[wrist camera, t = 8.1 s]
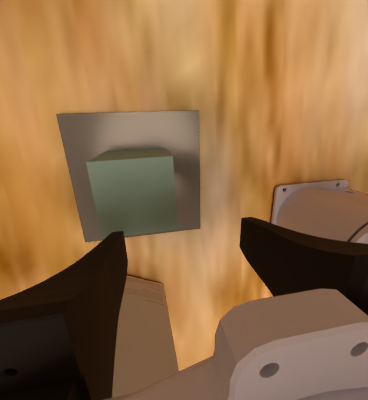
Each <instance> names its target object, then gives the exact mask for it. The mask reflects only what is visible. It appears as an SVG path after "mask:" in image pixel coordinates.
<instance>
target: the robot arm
mask: <svg viewBox="0 0 368 400" xmlns="http://www.w3.org/2000/svg"><path fill="white" fill-rule="evenodd" d="M336 184H337V185H336ZM347 187H348V181H347V180H344V179H342V180H331V181H320V182H309V183H298V184H287V185H278V186H277V187H276V188H275V194H274V202H273V211H272V219H271V223H269V222H266V221H263V220H260V219H257V218H253V217H248V218H242V220H241V234H240V248H241V250H242V252H243V254H244V256H245V258H246V259H247V261H248V262H249V264H250V265H251V266H252V268H253V269H254V270H255V272H256V273H257V274H258V276H259V277H260V278H261V279H262V281H263V282H264V283H265V285H266V286H267V287H268V289H269V290H270V292H271V293H272V295H273V296H274V297H269V298H263V299H257V300H252V301H248V302H245V303H243V304H240V305H237V306H235V307H233V308H232V309H231V310H230V311H229V312H228V313H227V314H226V315H225V316H223V317H222V318H221V320H220V322H219V325H218V328H217V330H216V333H215V350H214V355H213V356H211V357H209V358H207V359H205V360H202V361H200V362H198V363H196V364H194V365H192V366H190V367H188V368H186V369H183V370H181V371H179V372H177V373H175V374H173V375H171V376H169V377H166V378H164V379H162V380H160V381H158V382H156V383H154V384H152V385H149V386H147V387H145V388H143V389H141V390H139V391H137V392H135V393H130V394H126V395H122V396H117V397H113V398H112V389H113V375H114V361H115V350H116V338H117V328H118V319H119V313H120V308H121V303H122V298H123V293H124V288H125V283H126V278H127V266H128V259H127V253H126V246H125V239H124V232H123V231H117V232H112V233H110V234H109V235H108V236H107V237H106V238H105V239H104V240H103V241H102V242H100V243H99V244H98V245H97V246H96V247H95V248H94V249H92V250H91V251H90V252H89V253H87V254H86V255H85V256H84V257H82V258H81V259H80V260H78V261H77V262H75V263H74V264H72V265H71V266H69V267H68V268H66V269H65V270H63V271H61V272H59V273H58V274H56V275H54V276H52V277H50V278H49V279H47V280H45V281H43V282H41V283H39V284H37V285H35V286H33V287H31V288H28V289H26V290H24V291H22V292H19V293H17V294H14V295H12V296H9V297H7V298H4V299H2V300H0V400H368V194H365V193H361V192H358V191H354V190H351V189H347ZM283 188H285V189H284V191H283Z"/></svg>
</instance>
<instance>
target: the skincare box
mask: <svg viewBox="0 0 368 400" xmlns="http://www.w3.org/2000/svg"><path fill="white" fill-rule="evenodd" d="M177 372H179V370H178V364H177V358H176V352H175V347H174V341H173V336H172V331H171V325H170V319H169V314H168V308H167V303H166V297H165V292H164V285H163V284H161V283H157V282H153V281H149V280H144V279H140V278H136V277H132V276H128V275H127V278H126V283H125V288H124V293H123V298H122V303H121V308H120V313H119V319H118V328H117V338H116V350H115V361H114V375H113V389H112V398H113V397H117V396H122V395H126V394H130V393H135V392H137V391H139V390H141V389H143V388H145V387H147V386H149V385H152V384H154V383H156V382H158V381H160V380H162V379H164V378H166V377H169V376H171V375H173V374H175V373H177Z"/></svg>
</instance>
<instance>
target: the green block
mask: <svg viewBox="0 0 368 400" xmlns="http://www.w3.org/2000/svg"><path fill="white" fill-rule="evenodd" d="M86 165H87V170H88V175H89V180H90V184H91V189H92V194H93V199H94V204H95V208H96V213H97V218H98V223H99V228H100V233H101V237H102V239H105V238H106V237H107V236H108V235H109V234H110V233H112V232H117V231H123V232H124V236H130V235H138V234H146V233H154V232H162V231H170V230H178V228H177V212H176V197H175V181H174V165H173V156H172V155H171V154H170V153H169V152H168V151H167V150H166V149H165V148H151V149H135V150H119V151H106V152H104V153H102V154H100V155H98V156H96V157H94V158H93V159H91V160H89V161H87V162H86Z"/></svg>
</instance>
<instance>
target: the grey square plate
mask: <svg viewBox="0 0 368 400" xmlns="http://www.w3.org/2000/svg"><path fill="white" fill-rule="evenodd" d="M56 115H57V119H58V124H59V128H60V133H61V137H62V141H63V146H64V150H65V155H66V159H67V163H68V168H69V172H70V177H71V181H72V185H73V190H74V194H75V199H76V203H77V207H78V212H79V216H80V221H81V225H82V229H83V234H84V238H85V242H91V241H100V240H104V239H102V237H101V233H100V228H99V223H98V218H97V213H96V208H95V204H94V199H93V194H92V189H91V184H90V180H89V175H88V170H87V165H86V162H87V161H89V160H91V159H93V158H94V157H96V156H98V155H100V154H102V153H104V152H106V151H119V150H135V149H151V148H165V149H166V150H167V151H168V152H169V153H170V154H171V155H172V156H173V165H174V181H175V197H176V212H177V228H178V230H170V231H162V232H154V233H146V234H138V235H130V236H124V238H125V237H133V236H142V235H150V234H158V233H167V232H175V231H183V230H192V229H200V162H199V110H196V111H155V112H115V113H75V114H56Z"/></svg>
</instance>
